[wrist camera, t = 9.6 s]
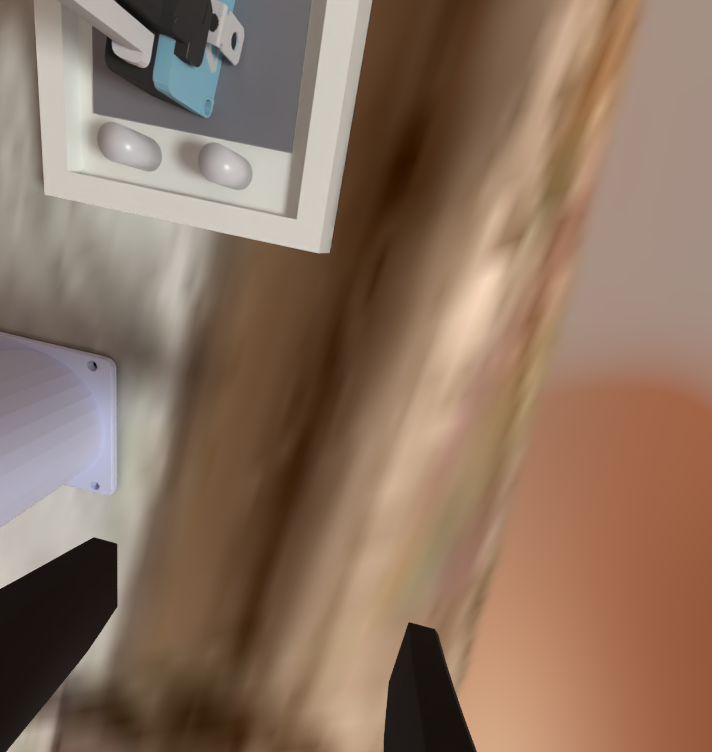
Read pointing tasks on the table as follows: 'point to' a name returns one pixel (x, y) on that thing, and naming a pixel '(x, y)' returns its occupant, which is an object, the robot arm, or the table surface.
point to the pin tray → (210, 124)
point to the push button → (167, 45)
